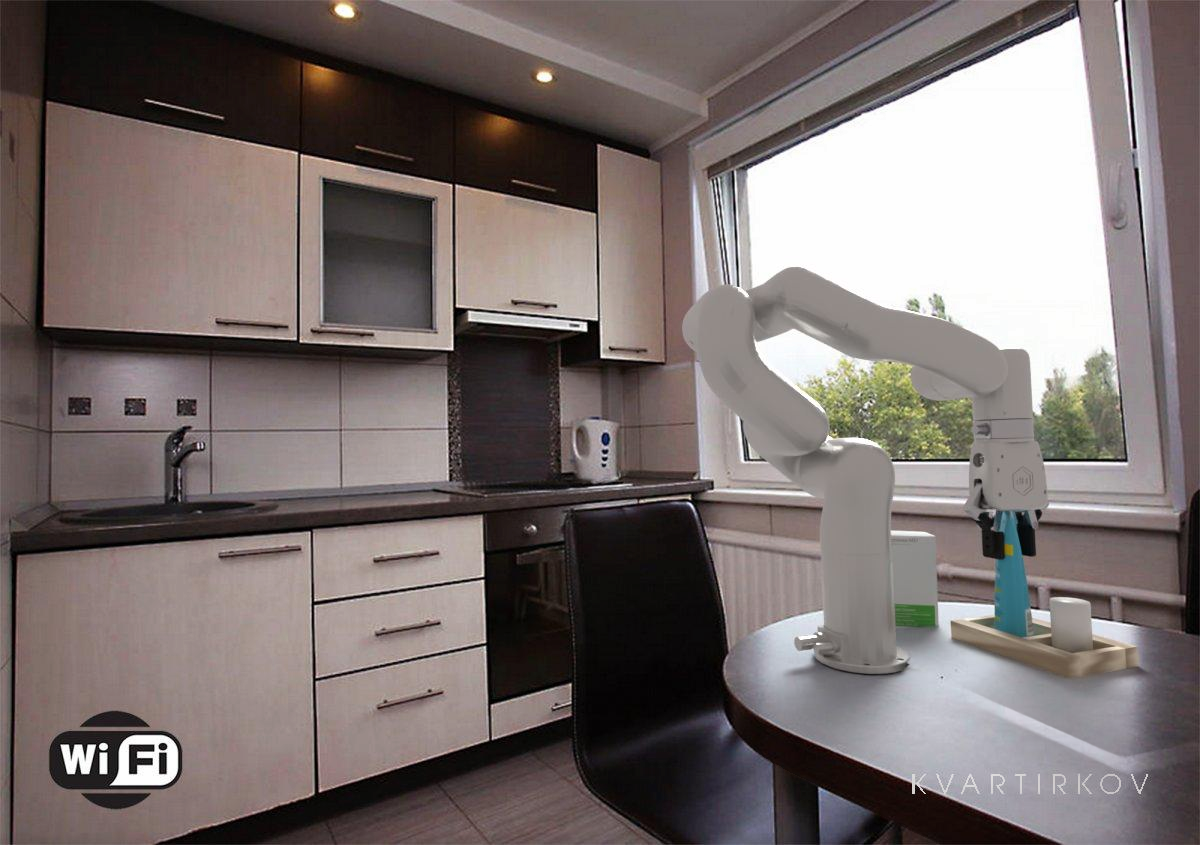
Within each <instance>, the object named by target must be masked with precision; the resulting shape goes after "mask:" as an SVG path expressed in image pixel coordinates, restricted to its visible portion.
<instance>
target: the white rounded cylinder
mask: <svg viewBox="0 0 1200 845" xmlns="http://www.w3.org/2000/svg"><path fill="white" fill-rule="evenodd" d="M1049 616H1050V618H1049V619H1050V623H1051V639H1052V647H1054V648H1057V649H1060V650H1063V651H1067V652H1070V653H1077V652H1084V651H1090V650H1093V639H1092V634H1093V622H1092V621H1093V620H1092V606H1091V602H1090V601H1088V600H1085V599H1081V598H1075V597H1069V596H1068V597H1067V596H1065V597H1063V596H1057V597H1056V596H1054V597H1050V598H1049Z"/></svg>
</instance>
